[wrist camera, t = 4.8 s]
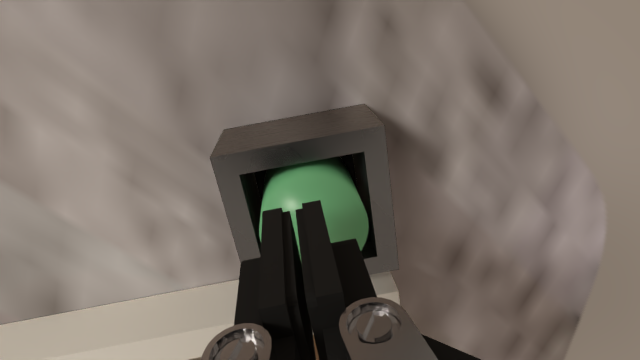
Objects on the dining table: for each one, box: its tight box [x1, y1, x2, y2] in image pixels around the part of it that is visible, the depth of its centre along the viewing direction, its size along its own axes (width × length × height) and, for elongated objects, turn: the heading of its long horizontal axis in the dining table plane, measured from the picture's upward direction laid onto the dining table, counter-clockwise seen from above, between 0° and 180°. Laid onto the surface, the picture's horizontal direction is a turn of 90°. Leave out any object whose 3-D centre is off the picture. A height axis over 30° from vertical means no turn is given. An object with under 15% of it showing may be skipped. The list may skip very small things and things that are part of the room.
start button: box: [259, 156, 369, 259], centre depth 15 cm, size 4×4×4 cm
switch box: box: [210, 104, 399, 275], centre depth 16 cm, size 6×6×4 cm
